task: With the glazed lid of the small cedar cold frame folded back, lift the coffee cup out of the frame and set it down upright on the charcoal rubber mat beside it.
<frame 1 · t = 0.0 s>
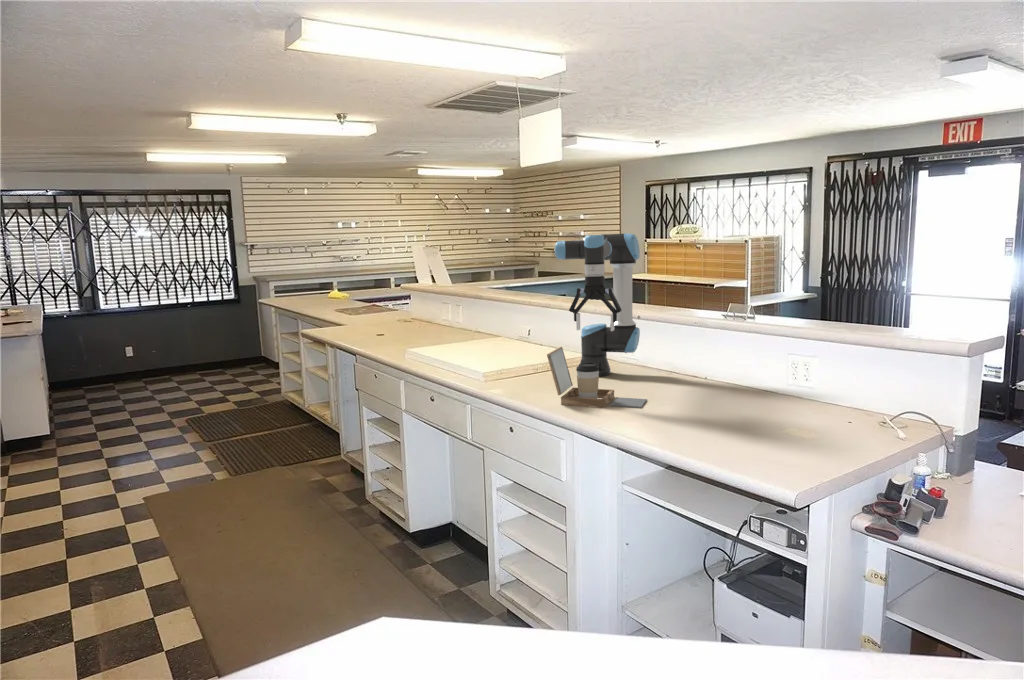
hand: (595, 330, 257), 28 cm above the countertop, fingers open, 13 cm apart
coffee cup: (588, 401, 261), resting in cold frame
lid: (560, 370, 263), point 12 cm above the countertop, hinge at 105.0°
cold frame: (588, 400, 261), on the countertop
mat: (628, 403, 255), on the countertop
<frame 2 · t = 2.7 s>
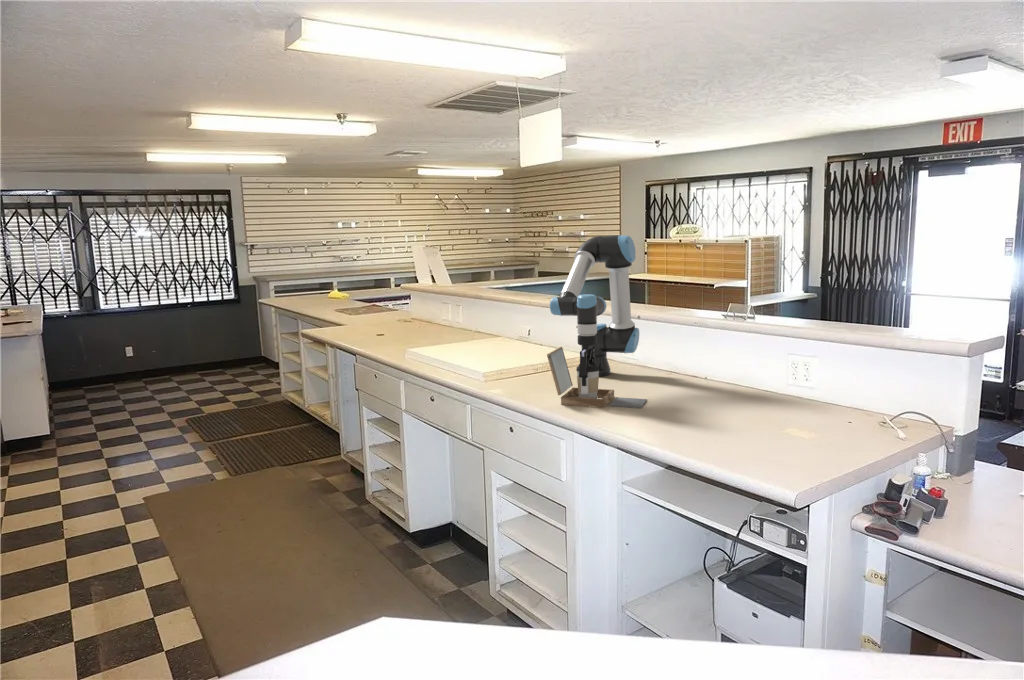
hand: (588, 390, 260), 4 cm above the countertop, fingers closed on coffee cup, 9 cm apart
coffee cup: (588, 401, 261), resting in cold frame, touching gripper
everything else where it was.
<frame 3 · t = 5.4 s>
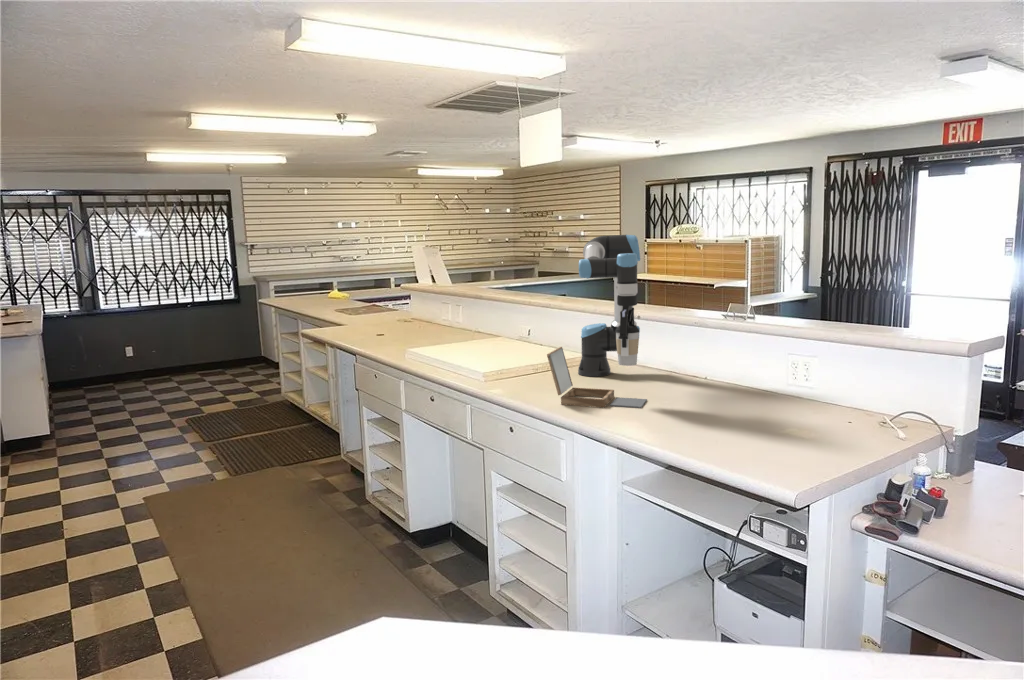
hand: (627, 353, 252), 19 cm above the countertop, fingers closed on coffee cup, 9 cm apart
coffee cup: (627, 364, 253), point 15 cm above the countertop, touching gripper
everything else where it was.
when the fingers open (5 cm above the countertop, at t = 8.5 s): coffee cup stays where it is, resting on mat.
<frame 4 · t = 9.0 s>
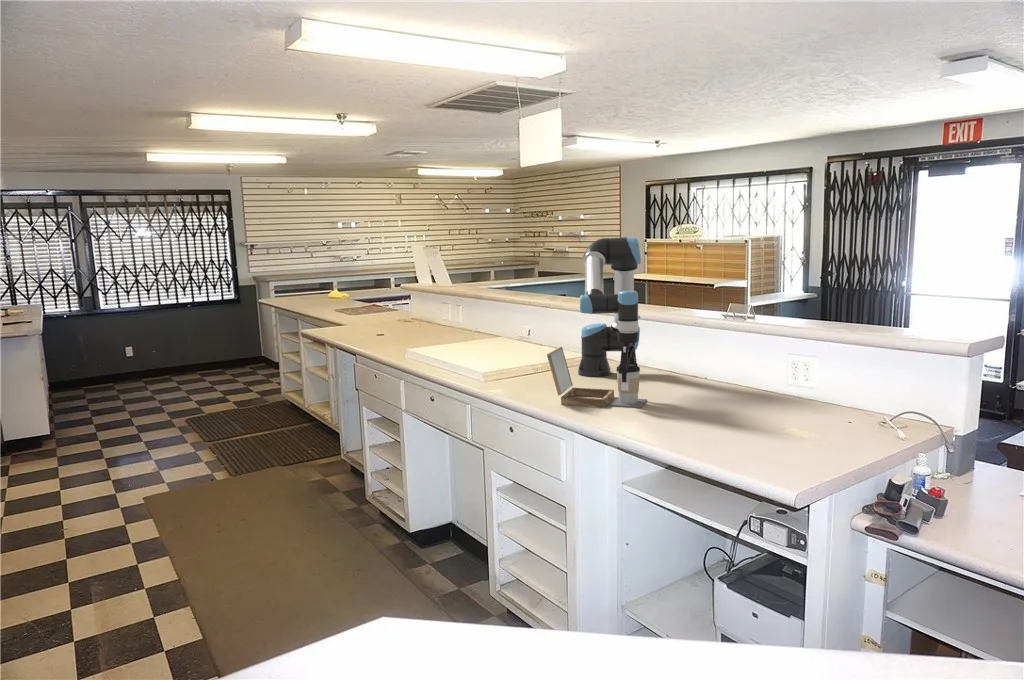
hand: (628, 386, 254), 7 cm above the countertop, fingers open, 13 cm apart
coffee cup: (628, 402, 255), resting on mat
everything else where it was.
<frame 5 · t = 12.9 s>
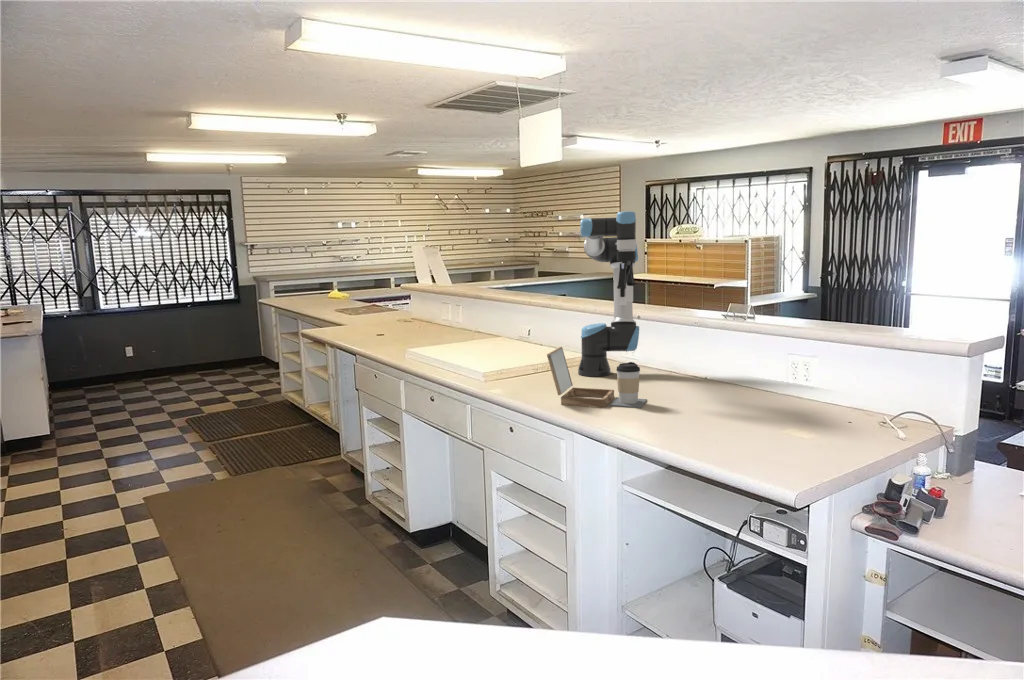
hand: (626, 303, 269), 37 cm above the countertop, fingers open, 13 cm apart
nothing on the countertop moved.
at the end: coffee cup inside the target area on the mat (0.1 cm from its centre), point 0.4 cm above the mat's base; coffee cup tilted 0°; coffee cup touching mat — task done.
